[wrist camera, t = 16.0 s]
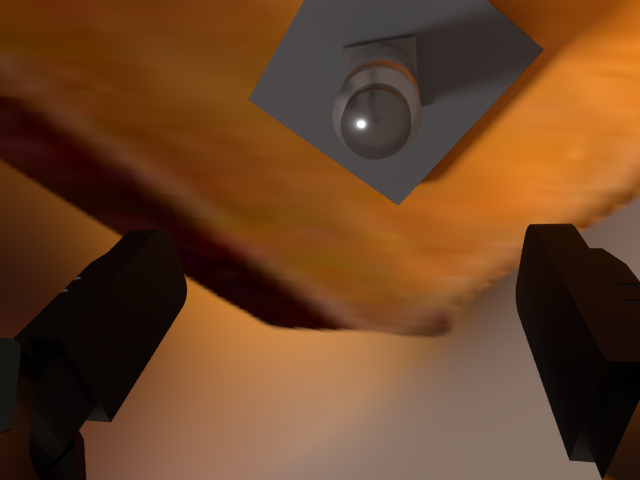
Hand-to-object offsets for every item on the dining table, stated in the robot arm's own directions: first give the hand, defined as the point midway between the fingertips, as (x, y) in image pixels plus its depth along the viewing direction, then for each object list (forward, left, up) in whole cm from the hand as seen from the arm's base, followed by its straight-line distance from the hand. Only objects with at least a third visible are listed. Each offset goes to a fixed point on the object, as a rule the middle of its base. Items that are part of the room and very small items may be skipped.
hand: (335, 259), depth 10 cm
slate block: (0, +1, -29) cm, 29 cm away
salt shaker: (+1, +1, -25) cm, 25 cm away
